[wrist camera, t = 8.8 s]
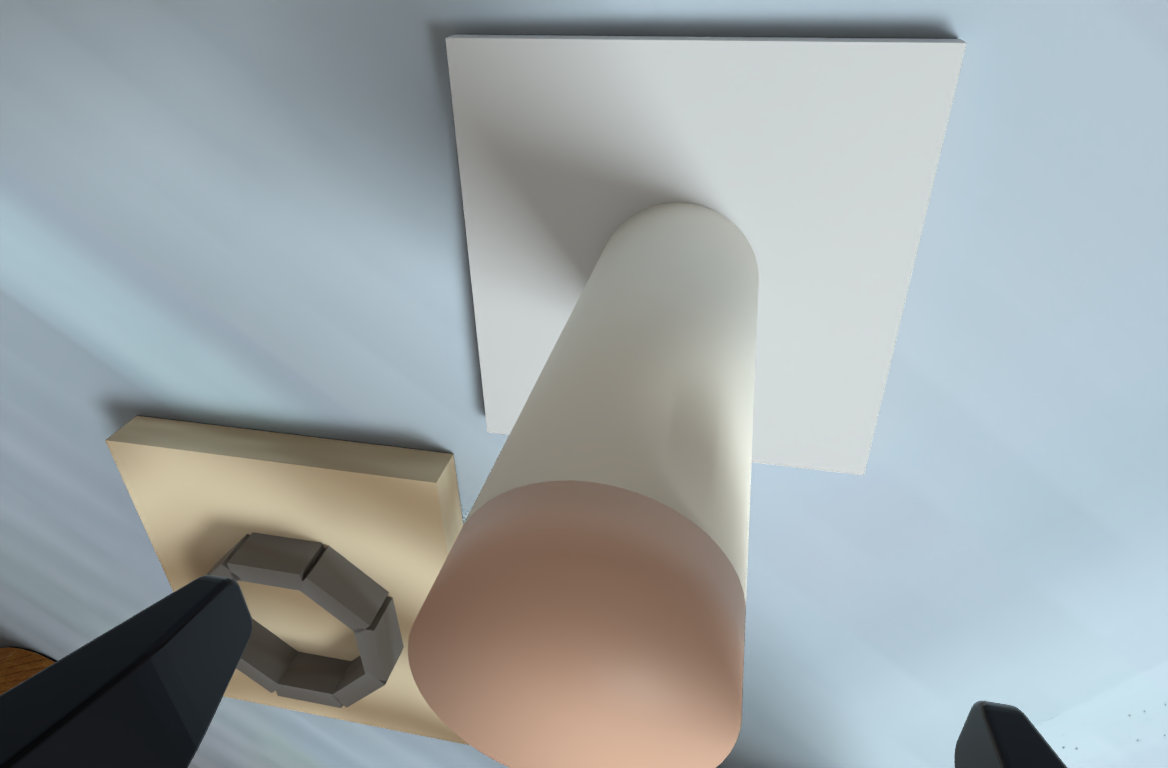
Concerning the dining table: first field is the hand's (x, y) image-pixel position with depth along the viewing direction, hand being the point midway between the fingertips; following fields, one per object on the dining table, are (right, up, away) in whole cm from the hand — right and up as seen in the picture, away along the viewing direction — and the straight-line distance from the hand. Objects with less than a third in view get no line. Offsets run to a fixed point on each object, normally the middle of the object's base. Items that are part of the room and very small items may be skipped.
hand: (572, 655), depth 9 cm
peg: (+2, +6, +10) cm, 12 cm away
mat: (+3, +6, +10) cm, 12 cm away
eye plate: (-10, -4, +20) cm, 23 cm away
